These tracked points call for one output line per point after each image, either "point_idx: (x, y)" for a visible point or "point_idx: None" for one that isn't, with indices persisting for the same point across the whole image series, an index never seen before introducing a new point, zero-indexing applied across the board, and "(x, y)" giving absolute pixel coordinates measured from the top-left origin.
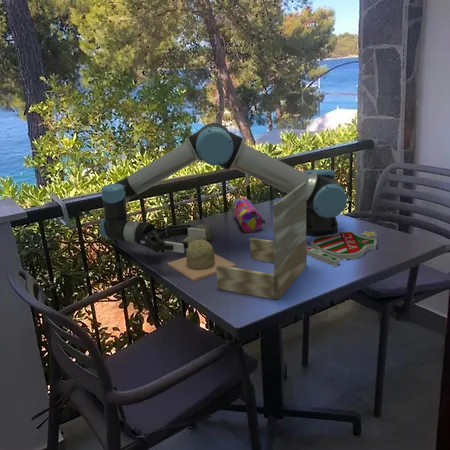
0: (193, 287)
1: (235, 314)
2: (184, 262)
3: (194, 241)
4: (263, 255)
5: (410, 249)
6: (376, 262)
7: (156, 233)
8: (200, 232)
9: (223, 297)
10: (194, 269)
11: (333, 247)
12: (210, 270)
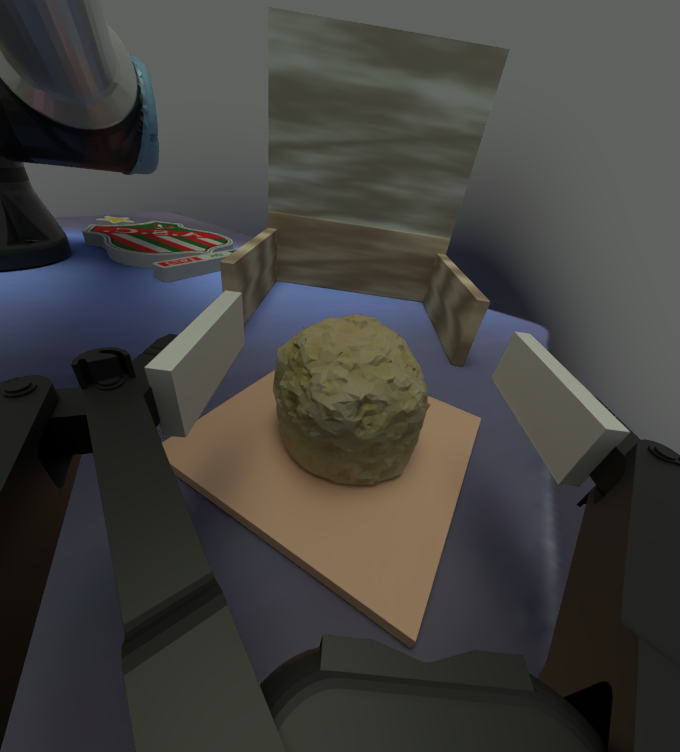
0: (507, 413)
1: (520, 332)
2: (355, 511)
3: (362, 348)
4: (250, 299)
5: (186, 222)
6: (240, 240)
7: (654, 746)
8: (232, 324)
9: (487, 352)
10: None
11: (191, 243)
12: None
